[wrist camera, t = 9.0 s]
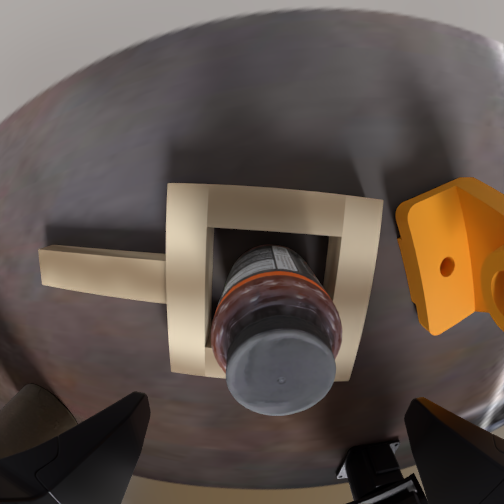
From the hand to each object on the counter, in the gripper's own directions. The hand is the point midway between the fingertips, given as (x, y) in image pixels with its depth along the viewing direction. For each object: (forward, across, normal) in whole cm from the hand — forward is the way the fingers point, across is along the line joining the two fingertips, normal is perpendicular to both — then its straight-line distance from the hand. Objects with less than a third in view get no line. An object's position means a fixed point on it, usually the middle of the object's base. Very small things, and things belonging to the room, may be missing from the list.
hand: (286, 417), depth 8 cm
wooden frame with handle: (+13, +6, 0) cm, 14 cm away
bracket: (+13, -14, -3) cm, 19 cm away
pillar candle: (+13, +26, +21) cm, 36 cm away
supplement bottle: (+13, 0, 0) cm, 13 cm away
